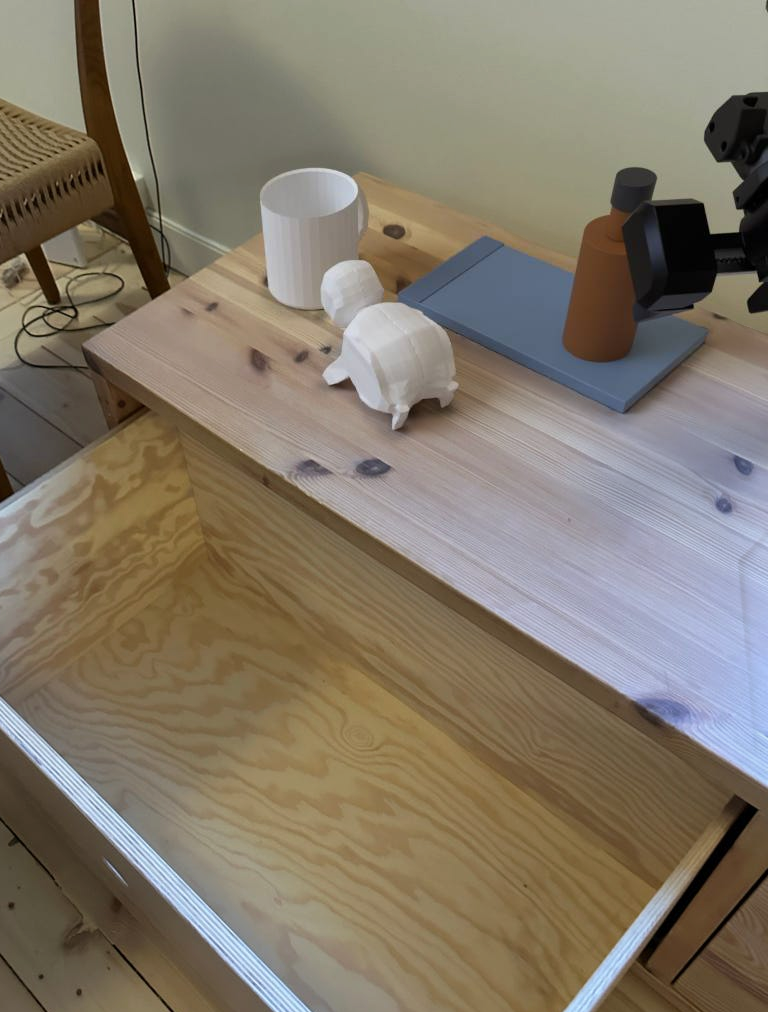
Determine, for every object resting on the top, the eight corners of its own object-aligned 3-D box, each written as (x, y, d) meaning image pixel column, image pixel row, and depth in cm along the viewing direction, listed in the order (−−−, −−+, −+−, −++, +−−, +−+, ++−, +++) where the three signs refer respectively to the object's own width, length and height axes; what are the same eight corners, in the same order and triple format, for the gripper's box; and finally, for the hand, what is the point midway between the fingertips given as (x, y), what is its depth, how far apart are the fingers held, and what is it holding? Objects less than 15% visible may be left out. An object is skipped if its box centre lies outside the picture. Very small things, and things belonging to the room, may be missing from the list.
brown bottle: (645, 339, 79) (694, 173, 67) (606, 371, 77) (649, 205, 65) (588, 313, 82) (624, 149, 70) (548, 344, 80) (579, 180, 68)
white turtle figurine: (451, 418, 81) (365, 291, 84) (481, 362, 73) (385, 224, 76) (372, 455, 79) (287, 324, 82) (394, 402, 71) (299, 258, 74)
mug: (300, 322, 86) (294, 229, 79) (251, 281, 91) (241, 189, 83) (400, 277, 89) (403, 184, 82) (348, 239, 94) (347, 148, 87)
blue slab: (705, 341, 80) (709, 328, 79) (622, 414, 75) (626, 401, 74) (481, 246, 92) (483, 234, 91) (397, 304, 87) (397, 291, 86)
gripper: (969, 38, 52) (783, 201, 67) (679, 45, 49) (553, 214, 64) (1015, 217, 51) (815, 342, 66) (720, 235, 48) (582, 362, 63)
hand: (693, 311), depth 65 cm, fingers open, 9 cm apart
